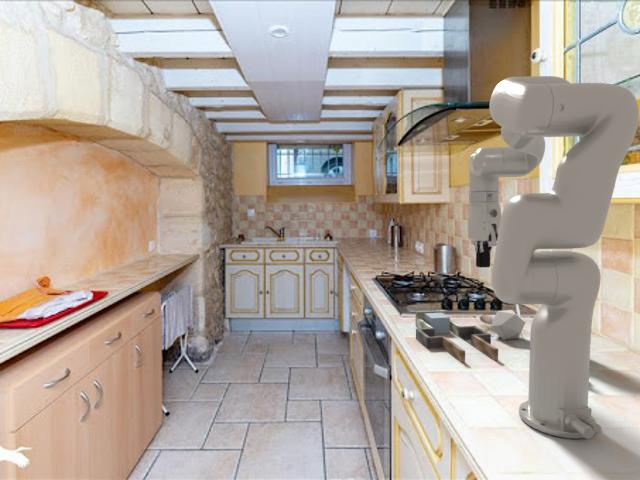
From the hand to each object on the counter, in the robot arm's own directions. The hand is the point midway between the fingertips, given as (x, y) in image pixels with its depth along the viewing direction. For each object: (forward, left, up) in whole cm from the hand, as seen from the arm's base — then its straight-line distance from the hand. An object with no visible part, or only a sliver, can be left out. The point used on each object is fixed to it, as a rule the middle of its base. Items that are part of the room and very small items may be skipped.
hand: (483, 266), depth 113 cm
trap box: (+9, +4, -23) cm, 25 cm away
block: (+20, +4, -24) cm, 31 cm away
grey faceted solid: (+10, -14, -24) cm, 29 cm away
